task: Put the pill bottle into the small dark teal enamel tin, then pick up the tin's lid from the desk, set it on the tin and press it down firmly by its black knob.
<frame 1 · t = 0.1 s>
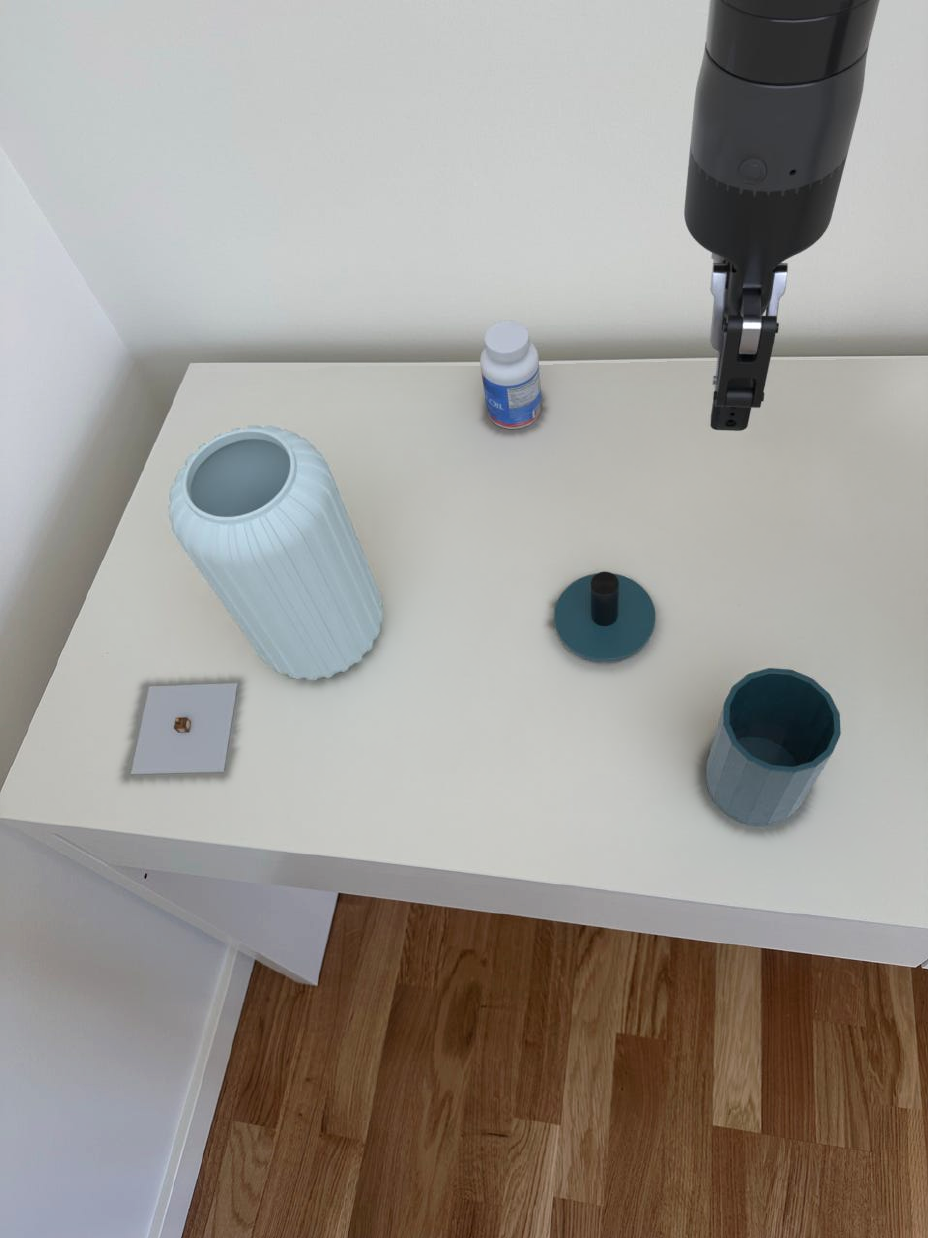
hand: (728, 374, 59), 23 cm above the table, tool pointing down, fingers open, 8 cm apart
lid: (604, 618, 76), point 1 cm above the table
vase: (325, 633, 80), on the table
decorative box: (186, 728, 77), on the table
pill bottle: (514, 411, 90), on the table
pot: (755, 779, 69), on the table
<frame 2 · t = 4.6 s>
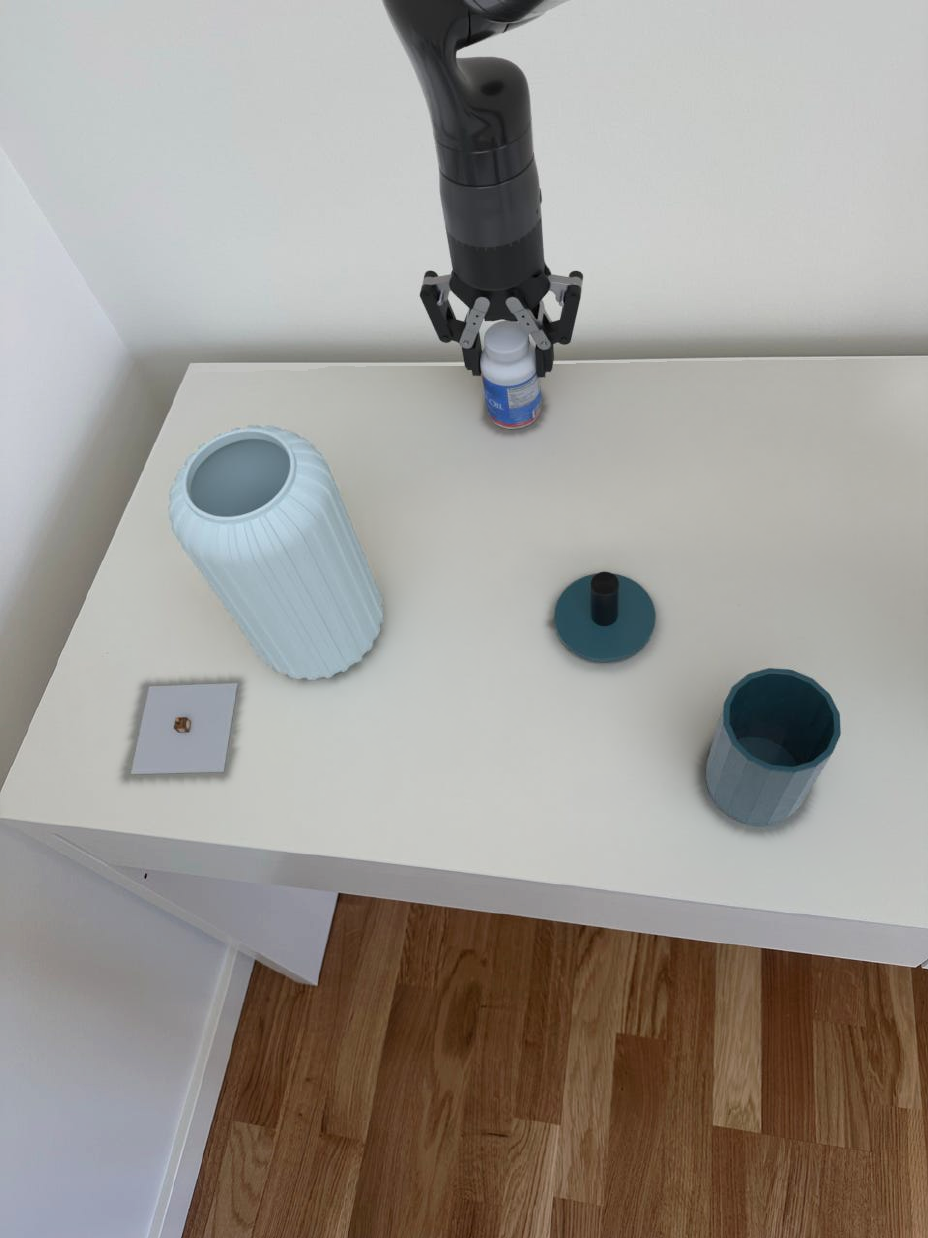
hand: (510, 369, 85), 5 cm above the table, tool pointing down, fingers closed on pill bottle, 5 cm apart
pill bottle: (514, 411, 90), on the table, touching gripper
everything else where it was.
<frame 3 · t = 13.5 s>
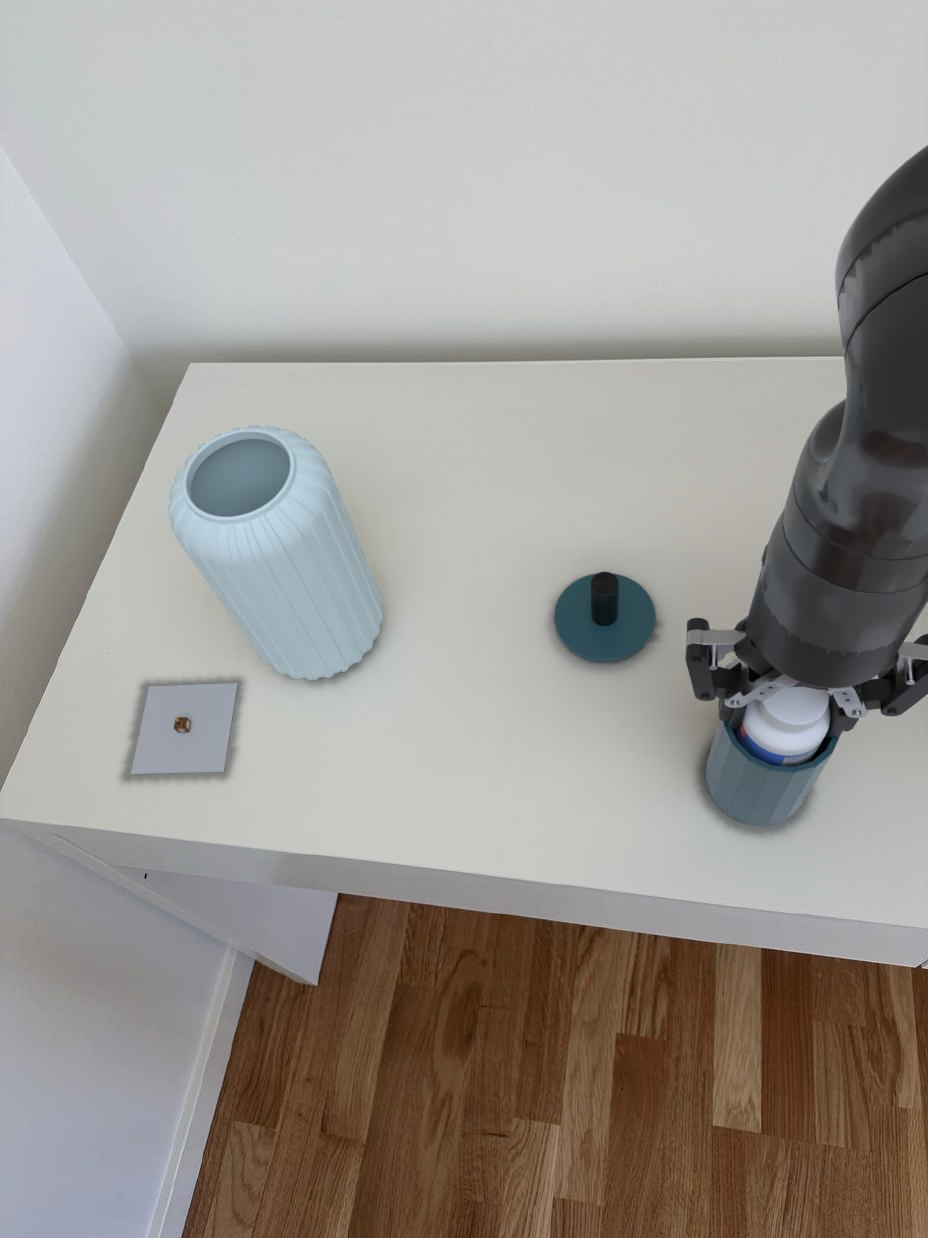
hand: (782, 719, 59), 12 cm above the table, tool pointing down, fingers closed on pill bottle, 5 cm apart
pill bottle: (767, 752, 64), point 6 cm above the table, touching gripper
everything else where it was.
when the fingers open (12 cm above the table, at t = 26.5 s): pill bottle stays where it is, resting on pot.
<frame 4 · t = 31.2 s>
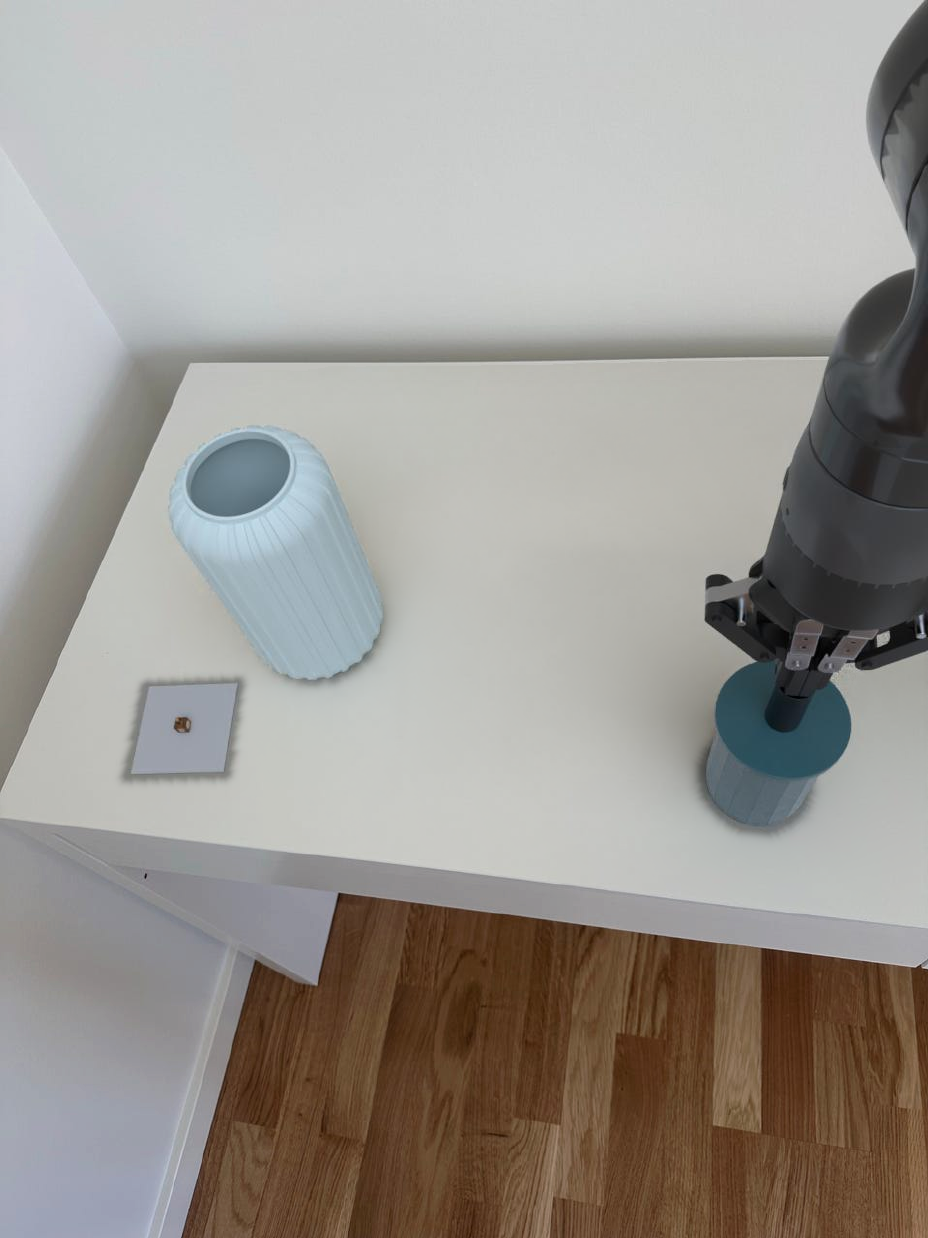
hand: (797, 681, 54), 17 cm above the table, tool pointing down, fingers closed
lid: (780, 720, 59), point 11 cm above the table, touching gripper, pot
pill bottle: (752, 779, 68), resting on pot
everything else where it was.
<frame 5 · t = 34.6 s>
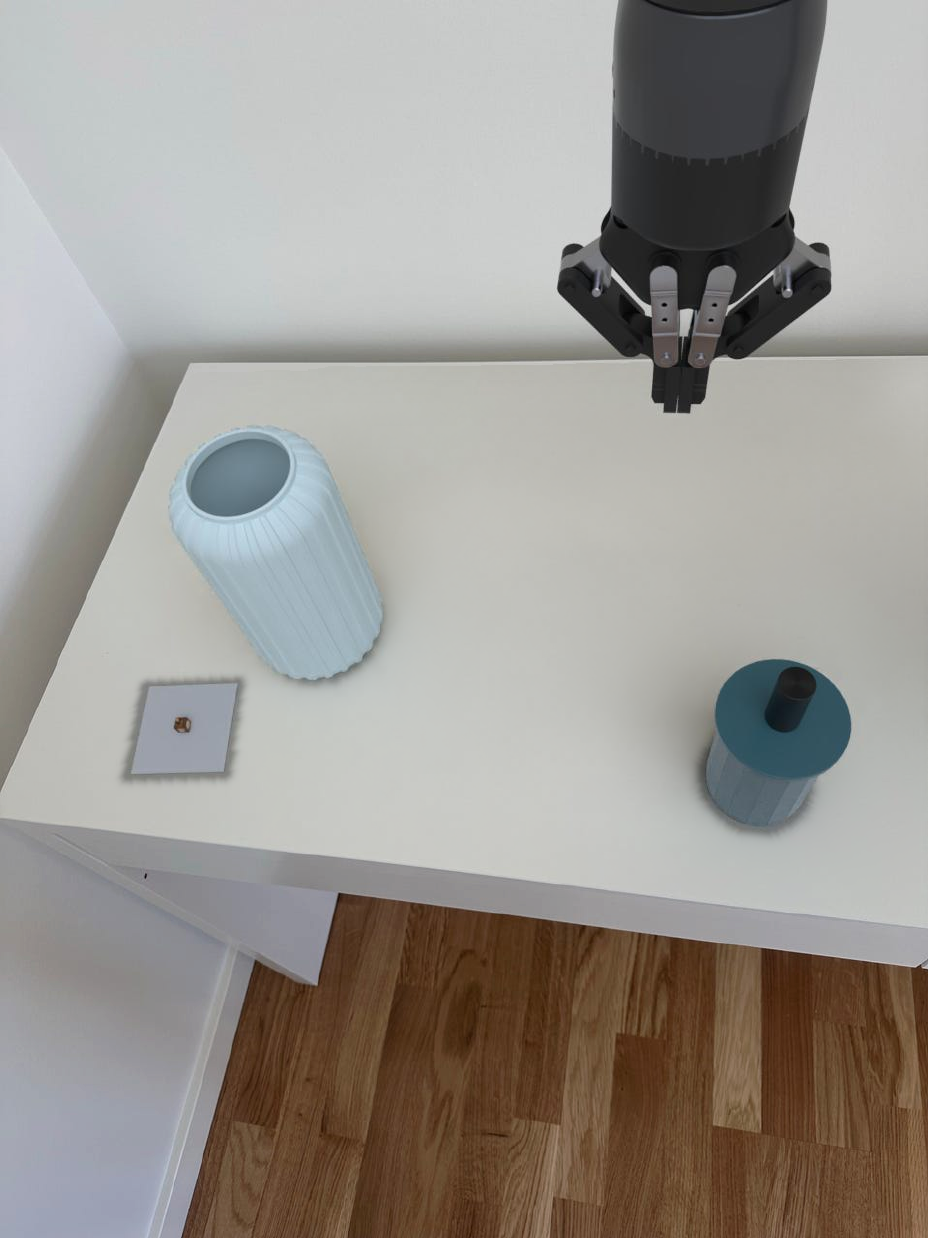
hand: (677, 401, 50), 29 cm above the table, tool pointing down, fingers closed
lid: (780, 720, 59), point 11 cm above the table, touching pot
everything else where it was.
at the end: pill bottle 0.2 cm off-centre in the pot, point 0.3 cm above the pot's base; lid 0.1 cm off-centre on the pot, point 11.5 cm above the pot's base; lid tilted 0° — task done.
